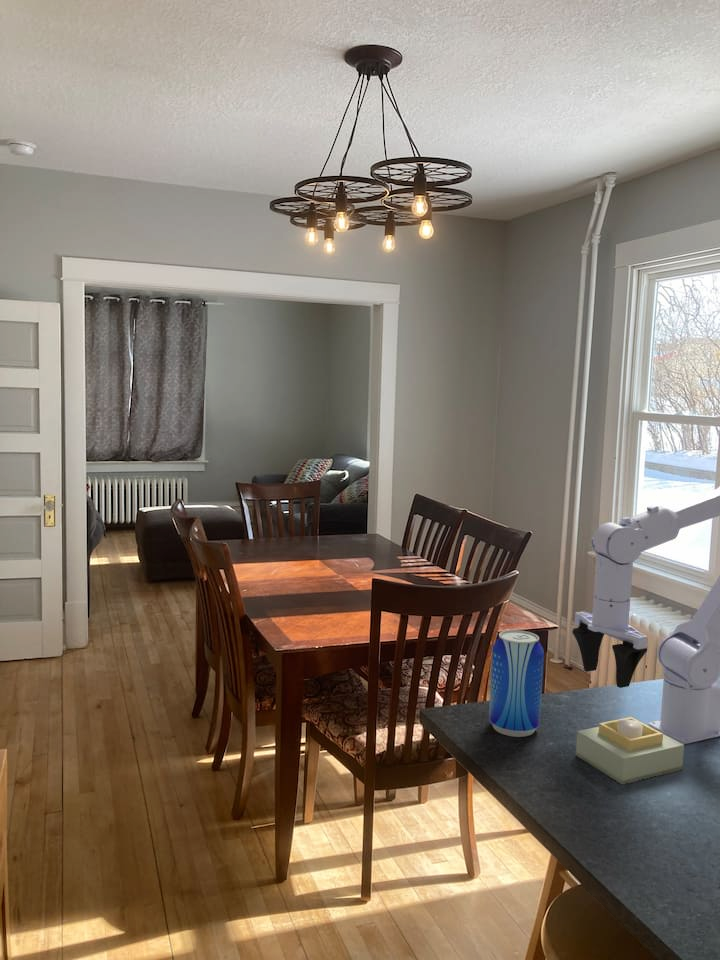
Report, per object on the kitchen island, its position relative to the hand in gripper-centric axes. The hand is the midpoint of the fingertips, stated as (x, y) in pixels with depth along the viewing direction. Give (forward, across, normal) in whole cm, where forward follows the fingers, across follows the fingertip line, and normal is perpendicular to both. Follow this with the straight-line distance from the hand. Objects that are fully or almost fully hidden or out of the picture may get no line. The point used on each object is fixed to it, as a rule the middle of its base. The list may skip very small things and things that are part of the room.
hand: (606, 678), depth 132 cm
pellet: (+9, +9, -3) cm, 13 cm away
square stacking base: (+10, +9, -3) cm, 14 cm away
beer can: (+10, -8, -12) cm, 18 cm away
